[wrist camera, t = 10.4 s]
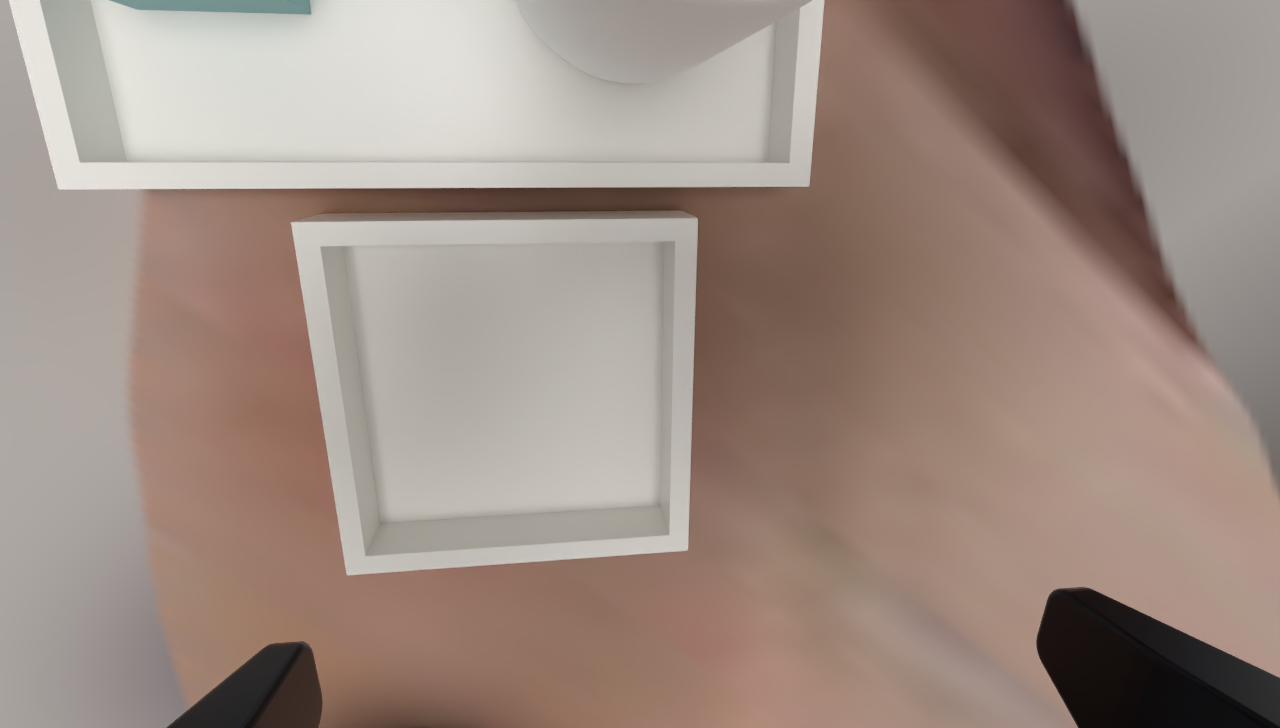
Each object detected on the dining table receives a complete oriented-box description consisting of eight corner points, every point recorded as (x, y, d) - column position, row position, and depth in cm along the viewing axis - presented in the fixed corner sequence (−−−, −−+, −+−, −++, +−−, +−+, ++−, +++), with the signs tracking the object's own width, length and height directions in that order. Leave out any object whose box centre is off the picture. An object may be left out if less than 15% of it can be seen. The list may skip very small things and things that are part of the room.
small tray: (675, 512, 23) (687, 550, 21) (367, 532, 22) (346, 575, 19) (681, 210, 20) (698, 218, 18) (321, 213, 18) (290, 222, 16)
